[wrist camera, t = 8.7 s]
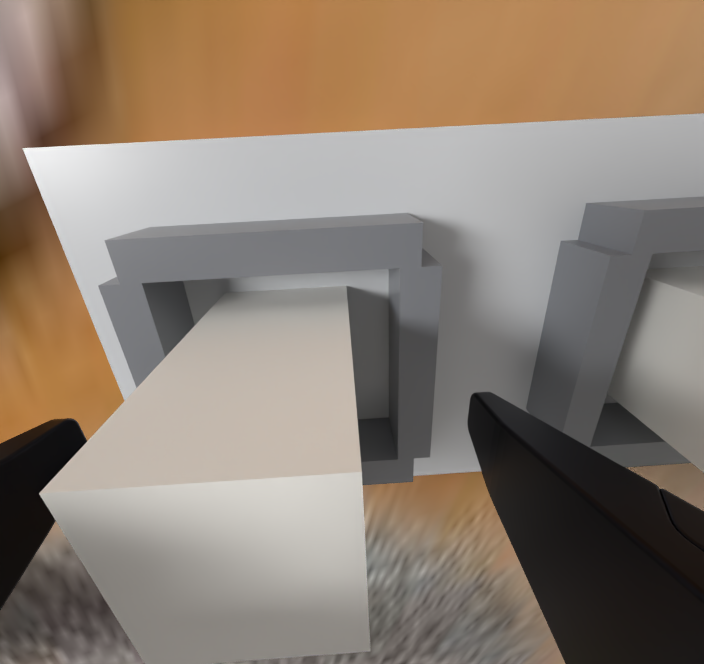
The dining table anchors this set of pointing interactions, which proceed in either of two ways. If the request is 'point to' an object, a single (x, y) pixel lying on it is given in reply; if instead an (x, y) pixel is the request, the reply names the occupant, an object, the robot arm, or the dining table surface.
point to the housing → (423, 269)
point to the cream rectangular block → (231, 490)
